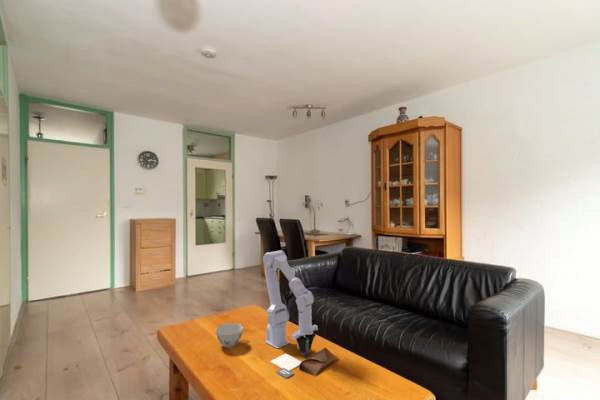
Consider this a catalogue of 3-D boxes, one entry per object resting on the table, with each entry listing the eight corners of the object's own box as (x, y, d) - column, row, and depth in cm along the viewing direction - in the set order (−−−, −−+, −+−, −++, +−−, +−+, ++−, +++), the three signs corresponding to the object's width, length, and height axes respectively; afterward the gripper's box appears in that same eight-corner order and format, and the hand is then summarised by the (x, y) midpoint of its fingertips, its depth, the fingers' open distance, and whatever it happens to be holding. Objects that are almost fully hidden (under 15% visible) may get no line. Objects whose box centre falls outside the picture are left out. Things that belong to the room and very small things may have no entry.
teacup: (228, 354, 133) (228, 336, 133) (210, 347, 140) (210, 329, 140) (251, 341, 145) (251, 324, 145) (233, 335, 152) (233, 319, 152)
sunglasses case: (315, 377, 114) (308, 359, 117) (303, 380, 118) (296, 363, 120) (340, 358, 128) (334, 343, 130) (329, 362, 132) (322, 347, 134)
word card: (276, 372, 118) (276, 371, 118) (283, 368, 121) (283, 367, 121) (286, 378, 114) (286, 377, 114) (293, 374, 116) (293, 373, 116)
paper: (270, 361, 126) (270, 361, 126) (285, 354, 132) (285, 353, 132) (287, 372, 118) (287, 371, 118) (303, 363, 125) (303, 362, 125)
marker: (300, 355, 131) (299, 339, 131) (305, 352, 134) (305, 336, 134) (305, 357, 129) (305, 341, 129) (310, 355, 131) (310, 339, 131)
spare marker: (295, 348, 138) (295, 332, 138) (300, 345, 140) (300, 330, 140) (300, 350, 135) (300, 335, 135) (305, 348, 138) (305, 332, 138)
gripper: (300, 327, 124) (300, 360, 123) (322, 317, 134) (322, 348, 134) (288, 322, 129) (288, 354, 128) (311, 313, 139) (311, 342, 139)
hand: (305, 350), depth 131 cm, fingers closed on marker, 3 cm apart
